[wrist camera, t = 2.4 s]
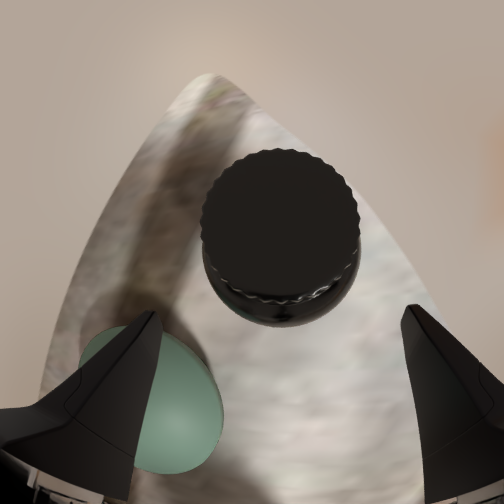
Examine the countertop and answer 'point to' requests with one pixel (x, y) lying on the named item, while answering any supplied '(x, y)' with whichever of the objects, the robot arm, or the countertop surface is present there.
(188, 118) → the countertop surface
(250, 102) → the countertop surface
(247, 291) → the supplement bottle
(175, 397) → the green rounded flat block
